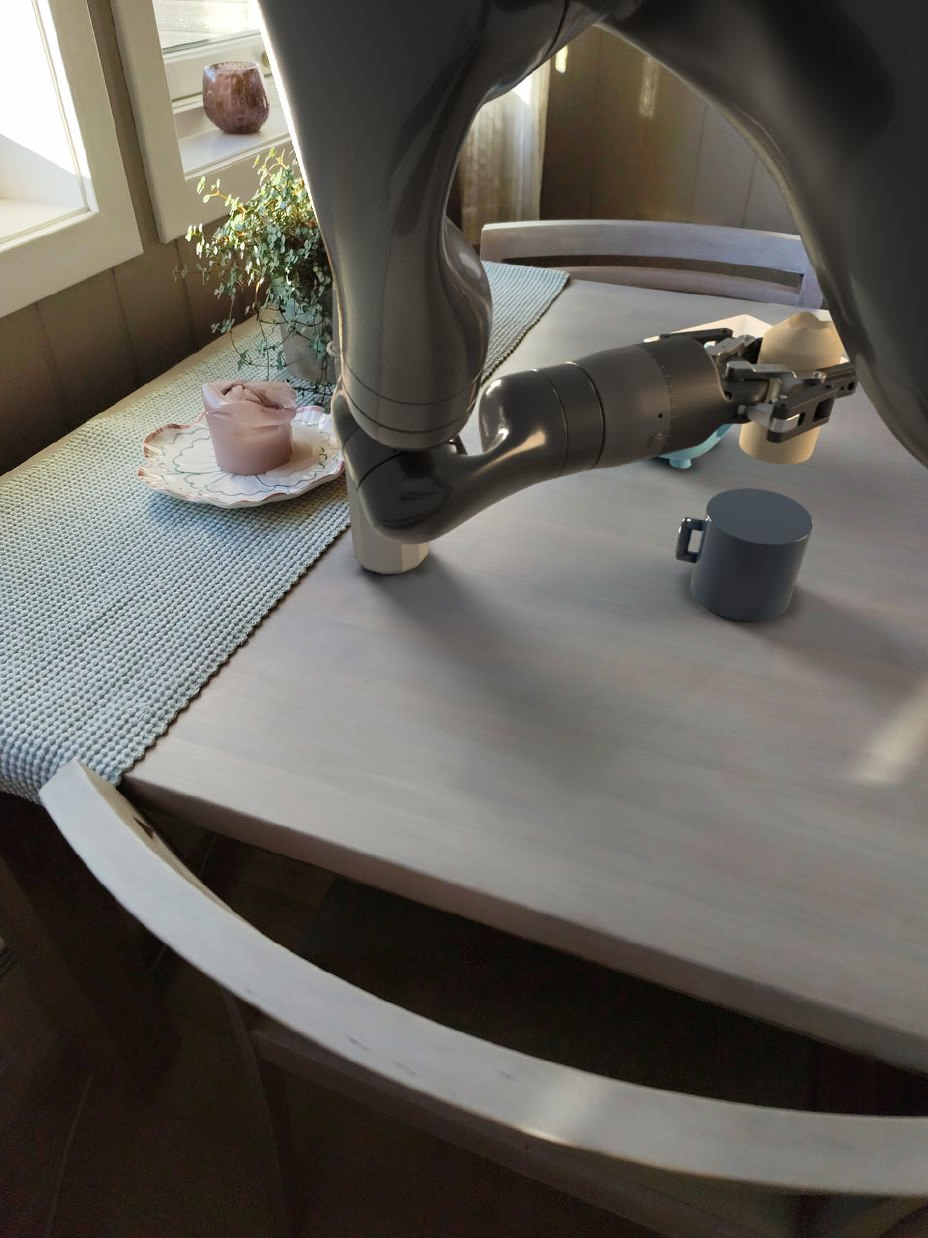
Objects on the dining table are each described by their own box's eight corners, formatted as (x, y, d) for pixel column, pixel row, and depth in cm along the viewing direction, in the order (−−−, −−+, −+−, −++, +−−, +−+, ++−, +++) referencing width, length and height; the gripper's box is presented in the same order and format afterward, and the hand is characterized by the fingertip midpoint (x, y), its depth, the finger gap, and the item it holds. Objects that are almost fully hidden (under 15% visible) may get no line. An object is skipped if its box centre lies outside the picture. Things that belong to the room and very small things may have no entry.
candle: (734, 428, 69) (763, 302, 63) (805, 433, 69) (842, 307, 62) (742, 462, 65) (774, 331, 58) (818, 468, 64) (858, 336, 58)
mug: (794, 574, 79) (816, 499, 74) (785, 631, 73) (809, 553, 68) (679, 550, 82) (693, 476, 77) (661, 603, 76) (675, 527, 70)
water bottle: (444, 568, 80) (438, 293, 64) (361, 586, 77) (334, 307, 61) (413, 517, 86) (401, 257, 70) (336, 532, 84) (306, 268, 68)
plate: (738, 407, 105) (742, 391, 103) (640, 353, 117) (642, 338, 116) (845, 374, 112) (850, 358, 111) (742, 326, 124) (745, 312, 123)
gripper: (712, 394, 50) (919, 345, 56) (580, 312, 60) (768, 278, 66) (689, 504, 55) (883, 449, 61) (570, 412, 65) (746, 372, 71)
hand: (822, 360), depth 63 cm, fingers closed on candle, 5 cm apart
